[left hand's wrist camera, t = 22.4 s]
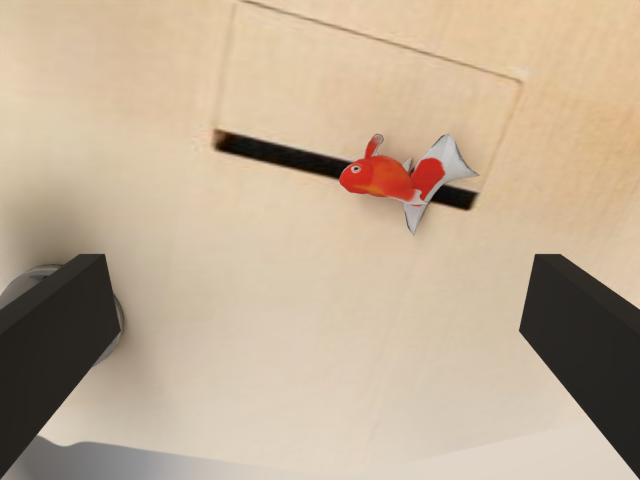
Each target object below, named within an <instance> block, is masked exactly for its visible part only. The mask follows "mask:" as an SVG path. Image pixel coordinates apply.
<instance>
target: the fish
mask: <svg viewBox="0 0 640 480" xmlns="http://www.w3.org/2000/svg"><path fill="white" fill-rule="evenodd" d="M382 142H383V136H382V135H380V134H376V135H374V136H373V137H372V139H371V141H370V142H369V143H368V145H367V148H366V152H365V158H364V159H360V160H357V161H356V162H354V163H352V164H351V165H349V166H348V167H347V168H346V169H345V170H344V171H343V172H342V174H341V177H340V180H339V181H340V184H341V185H342V186H343V187H345V188H346V189H347V191H349V192H351V193H359V194H365V193H367V194H370V195H373V196H378V197H391V198H394V199H397V200H400V201H402V202H403V203H404V210H405V215H406V220H407V225H408V228H409V230H410V231H411V233H412V234H413V236H414V235H415V232H416V230H417V227H418V225H419V222H420V220H421V218H422V216H423V214H424V211H425V209H426V207H427V205H428V204H430V203H429V202H430V200H431V198H432V197H433V195H434V194H435V192H436V191H437V190H438V189H439V187H440V186H441V185H443V184H444V183H447V182H449V181H452V180H455V179H459V178H469V177H475V176H480V175H479V174H477V173H475V172H474V171H472V170H471V169H470V168H469V167H468V166H467V164H466V163H465V162H464V160H463V158H462V157H461V155H460V153H459V150H458V148H457V145H456V142H455V141H454V140H453V139H452V137H451V136H450V135H449V134H446V135H443V136H441V137H440V139H439V140H438V141H437V142H436V143H435V144H434V145H433V146H432V147H431V148H430V149H429V150H428V151H427V152H426V154H425V155H424V156H423V157H422V158H421V159H420V161H419V162H418V163H417V164H416V165H415V167H414V168H413V169H412V170H411V171H410V175H409V174H408V171H409V168H410V164H411V161H412V158H410V159H408V160H407V161H406V162H405V163H403V164H402V165H401V164H400V163H399V162H398V161H396V160H394V159H392V158H390V157H387V156H379V155H378V153H377V152H376V151H377V148H378V147H379V145H380V144H381V143H382Z"/></svg>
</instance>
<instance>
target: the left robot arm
mask: <svg viewBox="0 0 640 480" xmlns="http://www.w3.org/2000/svg"><path fill="white" fill-rule="evenodd" d="M123 329H124V319H123V314H122V310H121V308H120V305H119V303H118V301H117V300H116V298H115V296H114V295H113V291H112V286H111V281H110V276H109V272H108V267H107V262H106V257H105V254H79V255H78V256H76V257H75V258H73V259H72V260H70V261H69V262H68V263H66V264H65V265H45V266H40V267H36V268H33V269H31V270H29V271H27V272H25V273H24V274H22V275H21V276H19V277H18V278H16V279H15V280H13V281H12V282H11V283H10V284H9V285H8V287H7V288H6V289H5V290H4V292H3V293H2V295H1V296H0V479H1V478H2V477H3V476H4V474H5V473H6V472H7V471H8V469H9V468H10V467H11V466H12V465H13V463H14V462H15V461H16V460H17V458H18V457H19V456H20V455H21V453H22V452H23V451H24V450H25V449H26V447H27V446H28V445H29V444H30V442H31V441H32V440H33V439H34V437H35V436H36V435H37V434H38V433H39V431H40V430H41V429H42V428H43V426H44V425H45V424H46V423H47V422H48V420H49V419H50V418H51V417H52V415H53V414H54V413H55V412H56V410H57V409H58V408H59V407H60V406H61V404H62V403H63V402H64V401H65V399H66V398H67V397H68V396H69V394H70V393H71V392H72V391H73V390H74V388H75V387H76V386H77V385H78V383H79V382H80V381H81V380H82V378H83V377H84V376H85V375H86V374H87V372H88V371H89V370H90V369H91V368H92V367H93V366H95V365H97V364H98V363H100V362H101V361H103V360H104V359H105V358H106V357H108V356H109V355H110V353H111V352H112V351H113V350H114V348H115V347H116V346H117V344H118V343H119V341H120V339H121V337H122V334H123ZM519 332H520V333H521V334H522V335H523V337H524V338H525V339H526V340H527V341H528V343H529V344H530V345H531V346H532V348H533V349H534V350H535V351H536V353H537V354H538V355H539V356H540V358H541V359H542V360H543V361H544V362H545V364H546V365H547V366H548V367H549V369H550V370H551V371H552V372H553V374H554V375H555V376H556V377H557V378H558V380H559V381H560V382H561V383H562V385H563V386H564V387H565V388H566V390H567V391H568V392H569V393H570V394H571V396H572V397H573V398H574V399H575V401H576V402H577V403H578V404H579V406H580V407H581V408H582V409H583V410H584V412H585V413H586V414H587V415H588V417H589V418H590V419H591V420H592V421H593V423H594V424H595V425H596V426H597V428H598V429H599V430H600V431H601V433H602V434H603V435H604V436H605V437H606V439H607V440H608V441H609V442H610V444H611V445H612V446H613V447H614V449H615V450H616V451H617V452H618V454H619V455H620V456H621V457H622V458H623V460H624V461H625V462H626V463H627V465H628V466H629V467H630V468H631V470H632V471H633V472H634V473H635V474H636V476H637V477H638V478H639V479H640V309H638V308H637V307H635V306H634V305H632V304H631V303H630V302H628V301H627V300H625V299H624V298H622V297H621V296H620V295H618V294H617V293H615V292H614V291H612V290H611V289H610V288H608V287H607V286H605V285H604V284H602V283H601V282H600V281H598V280H597V279H595V278H594V277H592V276H591V275H590V274H588V273H587V272H585V271H584V270H582V269H581V268H580V267H578V266H577V265H575V264H574V263H572V262H571V261H570V260H568V259H567V258H565V257H564V256H562V255H561V254H535V257H534V262H533V267H532V272H531V276H530V281H529V286H528V291H527V295H526V300H525V305H524V309H523V314H522V319H521V324H520V328H519Z"/></svg>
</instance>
